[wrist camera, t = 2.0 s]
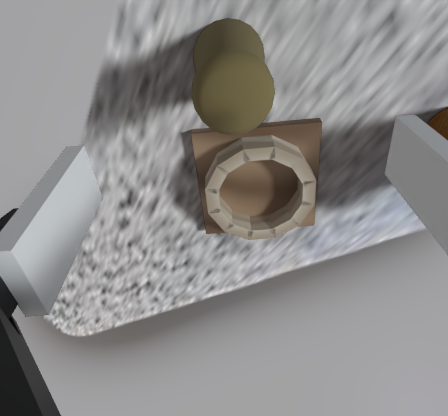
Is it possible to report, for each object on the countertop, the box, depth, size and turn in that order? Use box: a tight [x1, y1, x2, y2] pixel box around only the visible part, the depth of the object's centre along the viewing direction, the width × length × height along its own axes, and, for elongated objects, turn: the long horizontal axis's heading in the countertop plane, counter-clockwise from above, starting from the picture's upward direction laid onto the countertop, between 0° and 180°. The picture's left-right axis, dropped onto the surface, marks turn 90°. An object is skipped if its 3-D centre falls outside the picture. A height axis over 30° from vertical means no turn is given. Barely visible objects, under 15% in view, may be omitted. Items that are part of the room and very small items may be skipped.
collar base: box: [191, 118, 322, 240], centre depth 35 cm, size 12×12×4 cm
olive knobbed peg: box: [192, 18, 275, 135], centre depth 25 cm, size 6×6×11 cm
